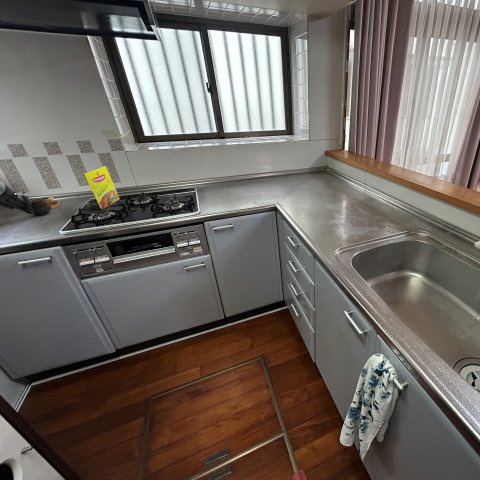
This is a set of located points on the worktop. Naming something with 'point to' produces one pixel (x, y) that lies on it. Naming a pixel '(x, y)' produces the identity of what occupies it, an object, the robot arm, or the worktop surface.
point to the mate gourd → (39, 207)
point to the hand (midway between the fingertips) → (31, 211)
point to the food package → (102, 187)
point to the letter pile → (50, 202)
